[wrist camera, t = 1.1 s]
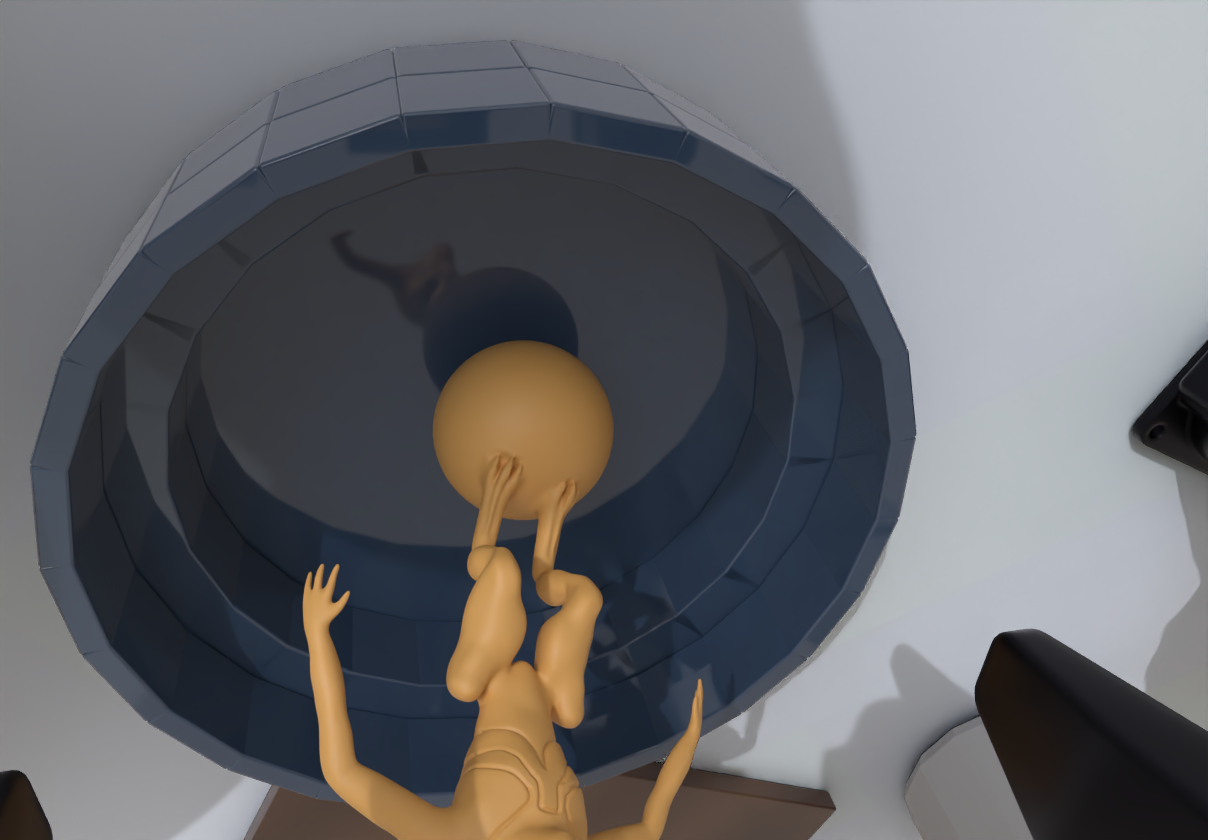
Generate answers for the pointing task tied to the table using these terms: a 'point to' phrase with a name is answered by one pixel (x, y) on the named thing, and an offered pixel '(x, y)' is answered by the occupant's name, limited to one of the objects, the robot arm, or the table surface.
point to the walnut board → (597, 810)
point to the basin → (410, 394)
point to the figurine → (503, 614)
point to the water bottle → (964, 790)
